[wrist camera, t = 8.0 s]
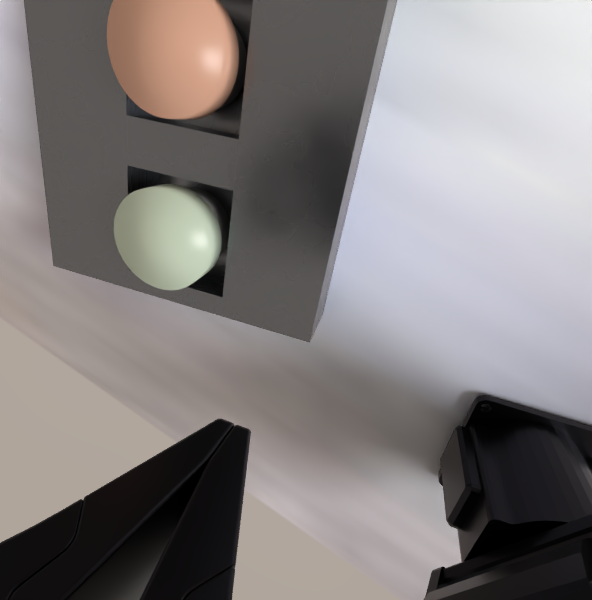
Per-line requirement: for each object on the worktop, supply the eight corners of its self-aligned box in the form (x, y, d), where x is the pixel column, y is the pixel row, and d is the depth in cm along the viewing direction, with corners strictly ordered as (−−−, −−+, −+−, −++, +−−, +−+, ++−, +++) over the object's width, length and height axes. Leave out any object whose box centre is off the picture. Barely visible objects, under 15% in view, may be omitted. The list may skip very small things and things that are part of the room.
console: (469, -304, 11) (488, -438, 9) (322, 314, 21) (309, 342, 18) (61, -312, 13) (-24, -420, 11) (95, 249, 23) (53, 265, 20)
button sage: (242, 190, 18) (211, 201, 15) (232, 276, 20) (203, 301, 17) (157, 170, 18) (111, 177, 16) (155, 255, 20) (115, 275, 18)
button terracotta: (263, 5, 15) (228, -25, 12) (249, 129, 17) (216, 129, 14) (160, -11, 15) (103, -43, 12) (158, 110, 17) (109, 106, 14)
